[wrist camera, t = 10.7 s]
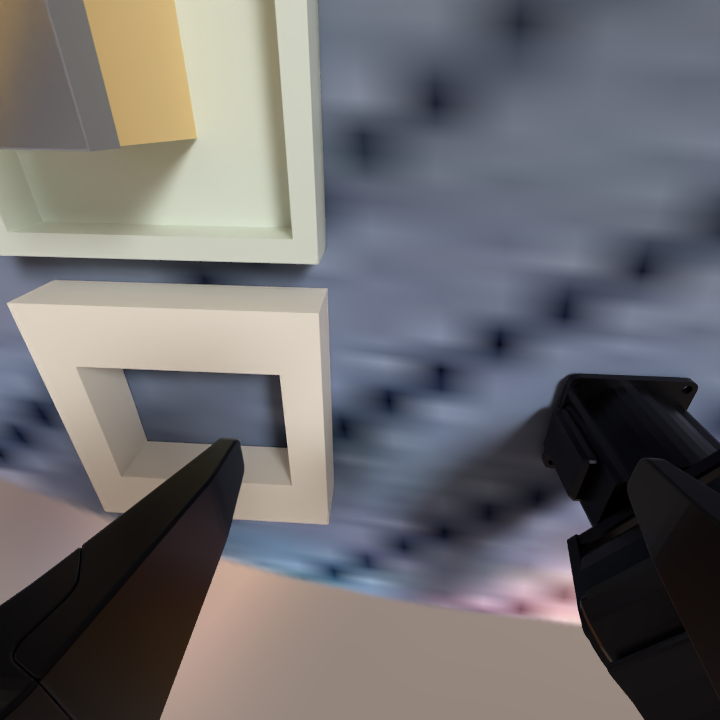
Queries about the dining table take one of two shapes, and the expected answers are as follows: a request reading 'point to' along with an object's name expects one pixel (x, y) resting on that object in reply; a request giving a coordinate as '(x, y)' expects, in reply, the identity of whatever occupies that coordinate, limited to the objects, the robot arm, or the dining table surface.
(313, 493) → the white square frame
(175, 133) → the block
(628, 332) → the dining table surface
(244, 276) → the dining table surface
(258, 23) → the parts tray
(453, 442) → the dining table surface
